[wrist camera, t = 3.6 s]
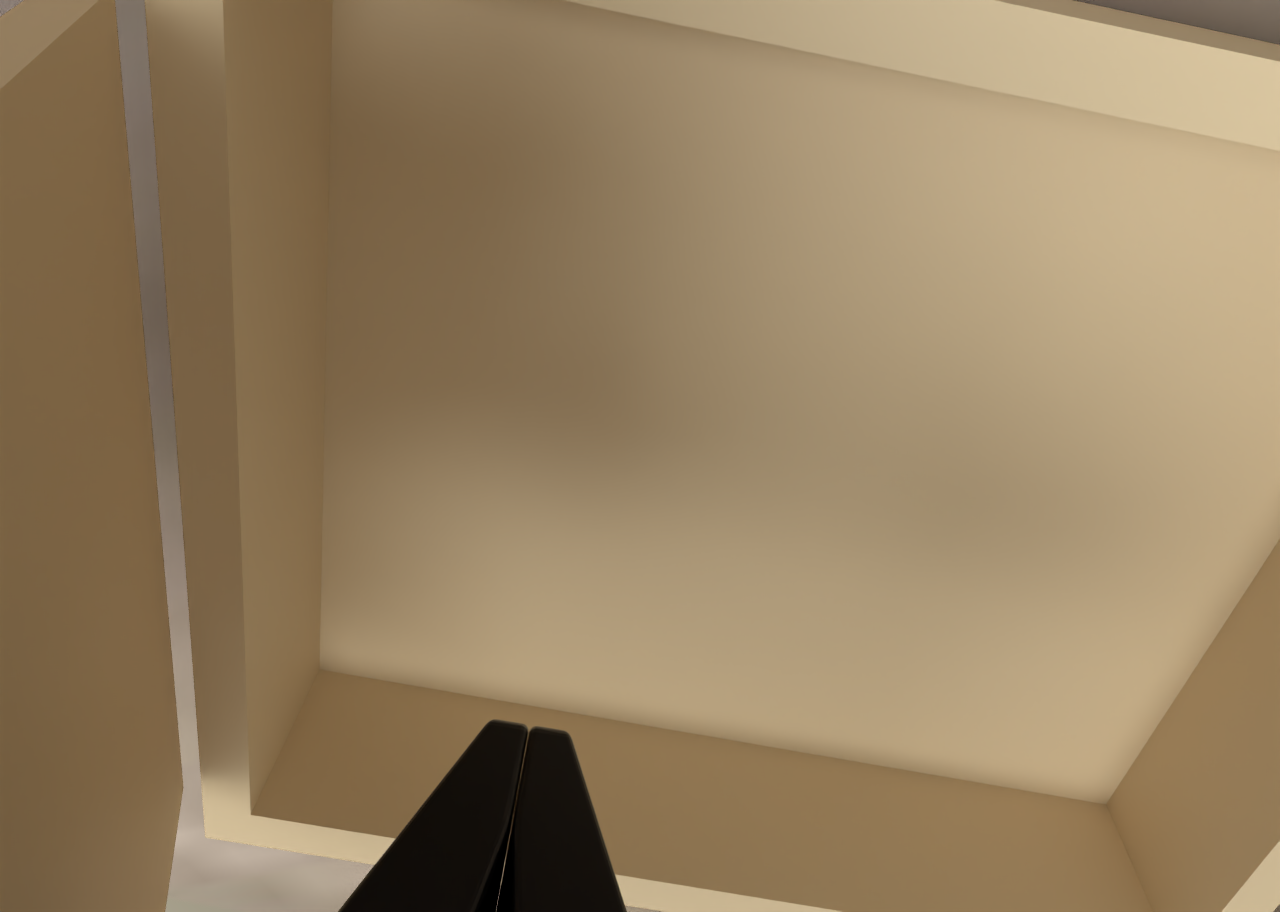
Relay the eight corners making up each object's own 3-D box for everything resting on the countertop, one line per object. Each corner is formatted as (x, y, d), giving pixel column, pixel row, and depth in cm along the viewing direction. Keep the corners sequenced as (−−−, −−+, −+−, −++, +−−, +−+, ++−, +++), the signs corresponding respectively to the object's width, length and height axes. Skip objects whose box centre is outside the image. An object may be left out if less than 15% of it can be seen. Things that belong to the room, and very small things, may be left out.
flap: (-301, 364, 3) (-498, 356, 3) (83, 1460, 9) (25, 1475, 9) (113, -14, 10) (57, -22, 10) (183, 787, 16) (149, 789, 16)
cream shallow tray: (1582, 110, 14) (1891, 194, 10) (1115, 812, 21) (1198, 997, 18) (288, -170, 13) (130, -185, 9) (290, 670, 20) (205, 837, 17)
